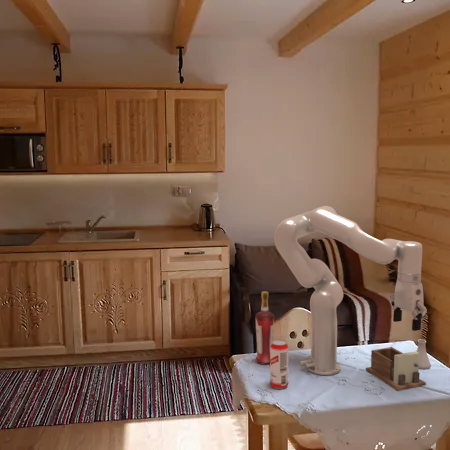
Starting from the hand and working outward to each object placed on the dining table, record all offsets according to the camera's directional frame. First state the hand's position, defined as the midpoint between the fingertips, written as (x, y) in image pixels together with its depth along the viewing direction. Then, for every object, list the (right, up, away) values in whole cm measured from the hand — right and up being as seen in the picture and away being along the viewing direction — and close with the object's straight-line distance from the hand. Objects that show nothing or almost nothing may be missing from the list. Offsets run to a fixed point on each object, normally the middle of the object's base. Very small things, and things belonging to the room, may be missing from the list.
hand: (406, 325), depth 177 cm
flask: (+12, -19, +18) cm, 29 cm away
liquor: (-47, -19, +23) cm, 56 cm away
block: (+1, -20, +2) cm, 20 cm away
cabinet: (-1, -20, +8) cm, 22 cm away
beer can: (-44, -22, +2) cm, 49 cm away
